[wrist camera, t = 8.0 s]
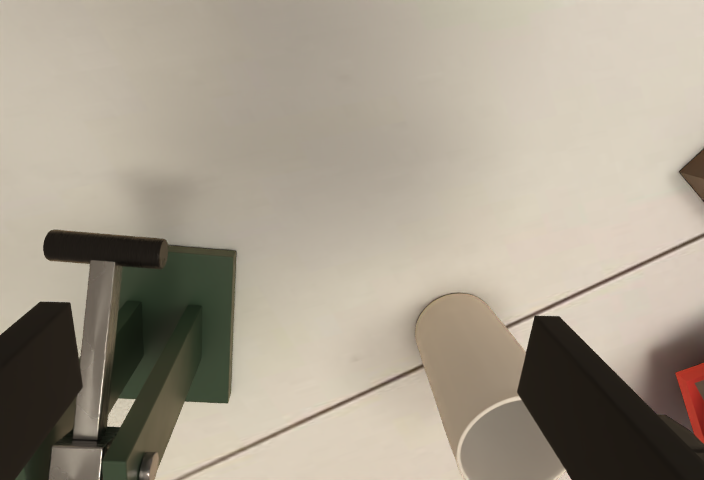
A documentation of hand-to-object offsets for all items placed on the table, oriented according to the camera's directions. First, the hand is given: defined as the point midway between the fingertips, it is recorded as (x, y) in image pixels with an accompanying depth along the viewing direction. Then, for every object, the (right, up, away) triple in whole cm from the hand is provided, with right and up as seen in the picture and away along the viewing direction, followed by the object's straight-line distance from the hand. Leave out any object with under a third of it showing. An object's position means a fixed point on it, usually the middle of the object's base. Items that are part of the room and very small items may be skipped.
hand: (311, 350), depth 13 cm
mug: (+9, -5, +23) cm, 25 cm away
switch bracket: (-12, -3, +20) cm, 23 cm away
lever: (-11, -3, +9) cm, 14 cm away
